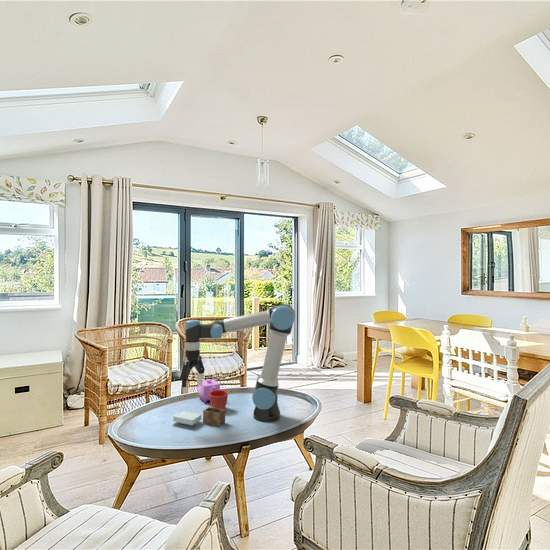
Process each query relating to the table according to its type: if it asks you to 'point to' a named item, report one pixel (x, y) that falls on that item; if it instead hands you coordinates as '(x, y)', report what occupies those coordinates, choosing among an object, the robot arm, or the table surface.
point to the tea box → (214, 416)
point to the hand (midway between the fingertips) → (192, 389)
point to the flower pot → (218, 399)
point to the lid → (187, 418)
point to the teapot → (207, 389)
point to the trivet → (187, 425)
